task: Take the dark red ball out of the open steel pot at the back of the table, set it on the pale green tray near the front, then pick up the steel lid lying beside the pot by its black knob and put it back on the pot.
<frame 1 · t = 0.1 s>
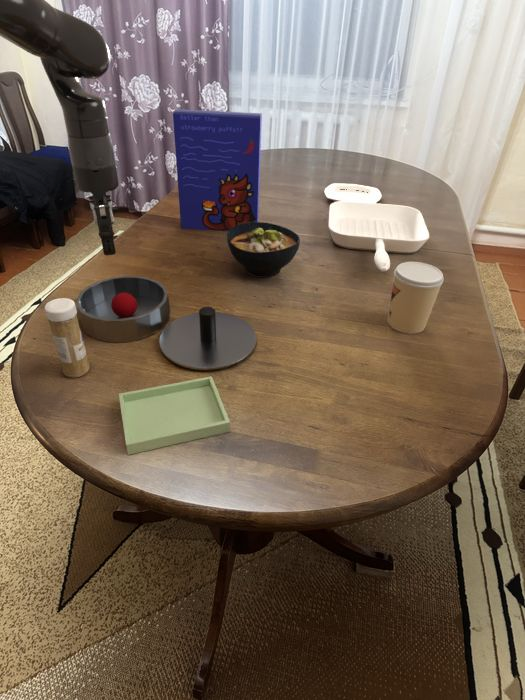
hand: (108, 245, 93), 13 cm above the table, tool pointing down, fingers open, 8 cm apart
bowl: (262, 270, 115), on the table
sprinkles bottle: (76, 371, 81), on the table
plate: (352, 198, 159), on the table
tray: (173, 417, 73), on the table
pan: (375, 247, 128), on the table
cereal box: (220, 227, 135), on the table
dark red ball: (124, 305, 93), point 3 cm above the table, touching pot
pot: (126, 317, 95), on the table
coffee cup: (405, 324, 97), on the table
pot lid: (208, 339, 89), point 1 cm above the table
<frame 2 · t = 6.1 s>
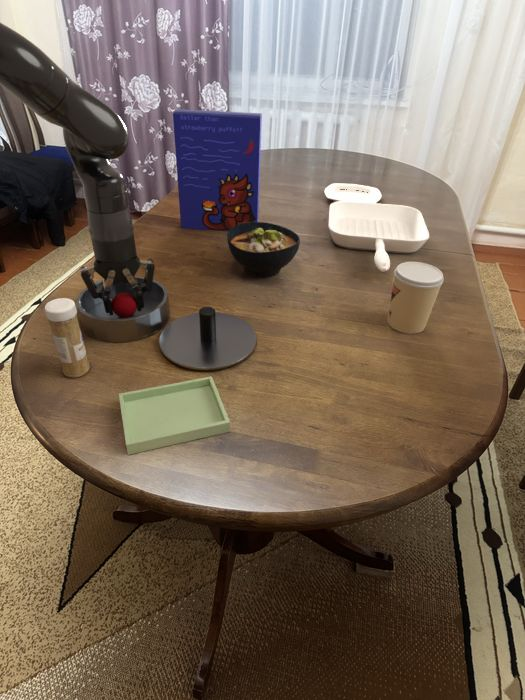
hand: (125, 311, 94), 2 cm above the table, tool pointing down, fingers closed on dark red ball, 5 cm apart
dark red ball: (124, 305, 93), point 3 cm above the table, touching gripper, pot
everything else where it was.
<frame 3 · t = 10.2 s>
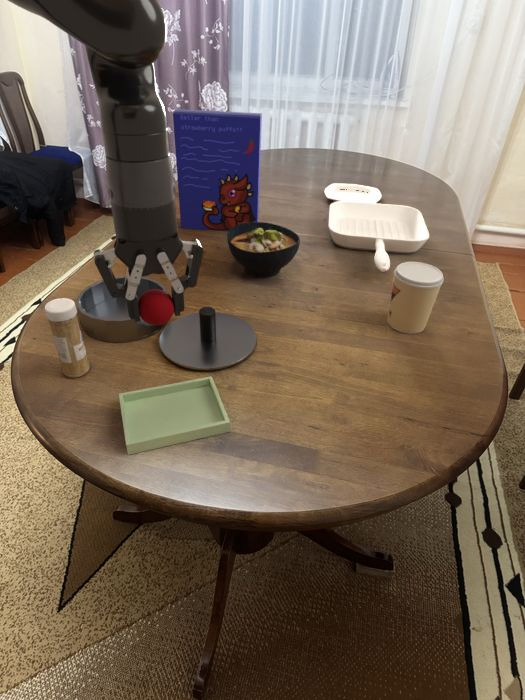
hand: (157, 315, 65), 17 cm above the table, tool pointing down, fingers closed on dark red ball, 5 cm apart
dark red ball: (156, 307, 64), point 18 cm above the table, touching gripper
everything else where it was.
when the fingers open (2 cm above the table, at t = 14.3 s): dark red ball stays where it is, resting on tray.
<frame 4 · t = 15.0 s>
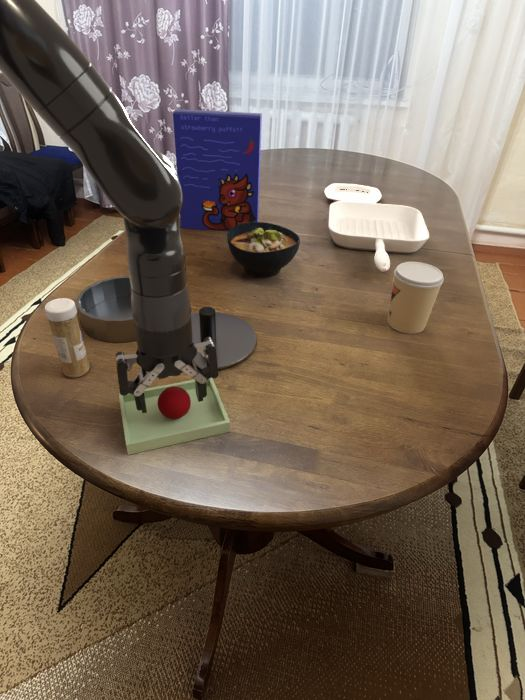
hand: (172, 403, 71), 3 cm above the table, tool pointing down, fingers open, 8 cm apart
dark red ball: (174, 402, 71), point 3 cm above the table, tilted 7°, touching tray
everything else where it was.
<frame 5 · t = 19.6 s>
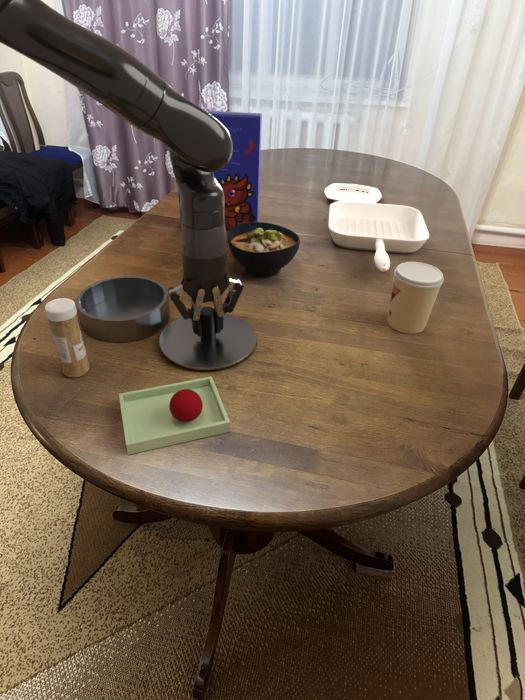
hand: (207, 332, 88), 2 cm above the table, tool pointing down, fingers closed on pot lid, 3 cm apart
dark red ball: (186, 405, 71), point 3 cm above the table, tilted 52°, touching tray
pot lid: (208, 339, 89), point 1 cm above the table, touching gripper
everything else where it was.
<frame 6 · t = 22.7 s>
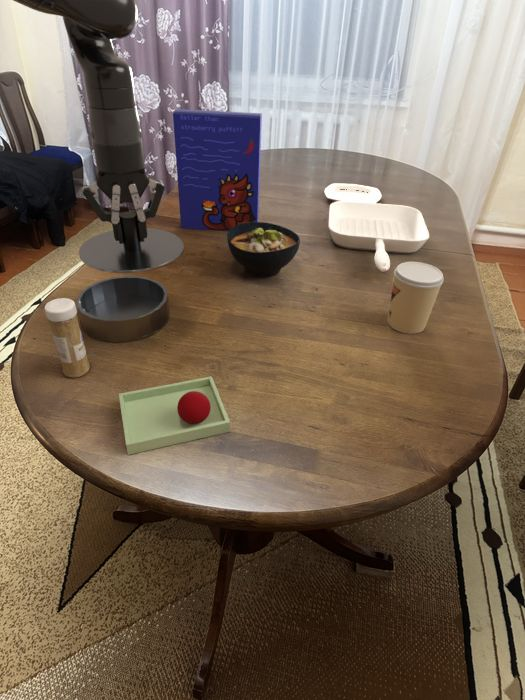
hand: (131, 240, 83), 18 cm above the table, tool pointing down, fingers closed on pot lid, 3 cm apart
dark red ball: (194, 407, 70), point 3 cm above the table, tilted 82°, touching tray
pot lid: (132, 249, 84), point 16 cm above the table, touching gripper
everything else where it was.
when the fingers open (7 cm above the table, at t = 25.9 s): pot lid stays where it is, resting on pot.
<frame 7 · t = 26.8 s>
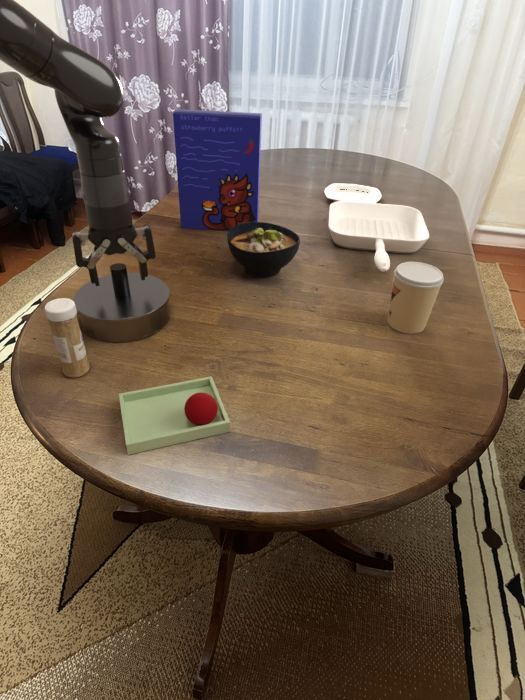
hand: (120, 281, 90), 8 cm above the table, tool pointing down, fingers open, 8 cm apart
dark red ball: (201, 408, 70), point 3 cm above the table, tilted 108°, touching tray
pot lid: (122, 296, 92), point 5 cm above the table, touching pot
everything else where it was.
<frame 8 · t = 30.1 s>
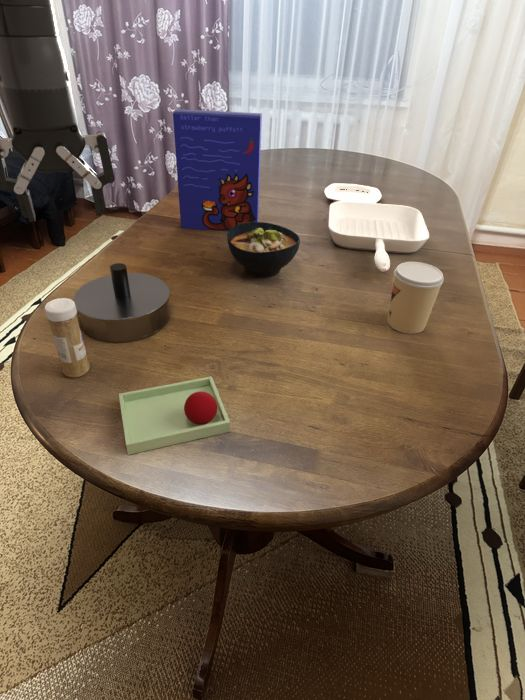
hand: (66, 216, 64), 28 cm above the table, tool pointing down, fingers open, 8 cm apart
nothing on the table moved.
at the end: dark red ball inside the target area on the tray (4.6 cm from its centre), point 3.1 cm above the tray's base; pot lid 0.0 cm off-centre on the pot, point 5.0 cm above the pot's base; pot lid tilted 0° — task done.
